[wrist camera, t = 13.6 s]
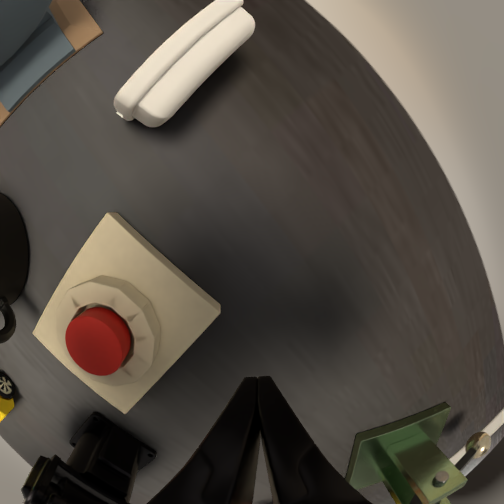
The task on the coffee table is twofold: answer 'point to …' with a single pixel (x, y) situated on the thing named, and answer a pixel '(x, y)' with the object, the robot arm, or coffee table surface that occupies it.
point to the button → (98, 341)
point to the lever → (468, 454)
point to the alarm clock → (38, 44)
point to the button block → (128, 309)
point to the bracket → (406, 459)
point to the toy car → (6, 396)
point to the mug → (11, 263)
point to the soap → (184, 63)
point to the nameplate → (489, 429)
